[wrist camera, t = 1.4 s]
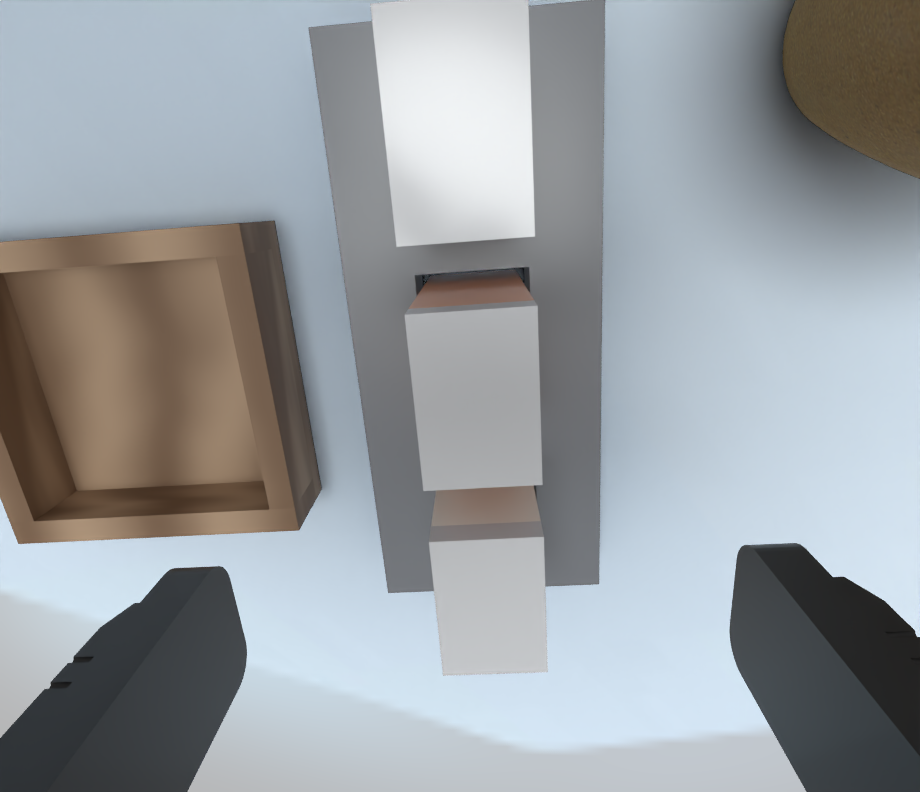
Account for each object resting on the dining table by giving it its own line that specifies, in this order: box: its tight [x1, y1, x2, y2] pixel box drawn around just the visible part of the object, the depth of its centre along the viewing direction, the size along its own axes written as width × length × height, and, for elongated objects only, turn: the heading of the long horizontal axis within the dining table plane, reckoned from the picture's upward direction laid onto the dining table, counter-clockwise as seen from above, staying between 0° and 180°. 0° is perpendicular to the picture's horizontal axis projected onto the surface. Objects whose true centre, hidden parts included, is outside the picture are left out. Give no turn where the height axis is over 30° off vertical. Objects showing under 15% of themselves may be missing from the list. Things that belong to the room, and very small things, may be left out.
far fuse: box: [429, 485, 548, 676], centre depth 25 cm, size 6×4×10 cm, turn 4°
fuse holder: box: [309, 0, 605, 593], centre depth 25 cm, size 25×11×3 cm, turn 4°
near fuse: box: [370, 0, 535, 247], centre depth 20 cm, size 6×4×10 cm, turn 4°
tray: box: [0, 221, 321, 544], centre depth 26 cm, size 14×14×4 cm
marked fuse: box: [405, 269, 543, 491], centre depth 22 cm, size 6×4×10 cm, turn 4°
